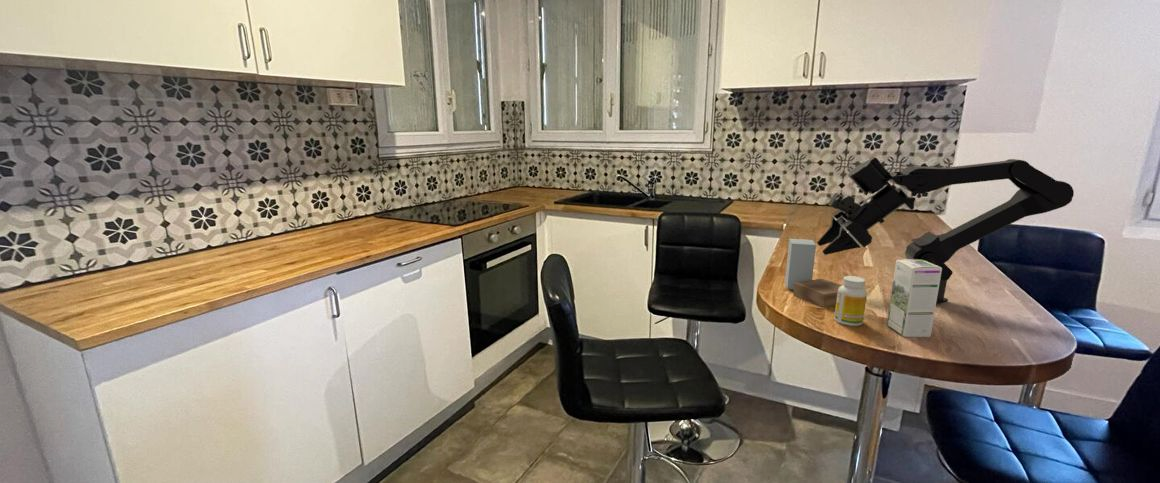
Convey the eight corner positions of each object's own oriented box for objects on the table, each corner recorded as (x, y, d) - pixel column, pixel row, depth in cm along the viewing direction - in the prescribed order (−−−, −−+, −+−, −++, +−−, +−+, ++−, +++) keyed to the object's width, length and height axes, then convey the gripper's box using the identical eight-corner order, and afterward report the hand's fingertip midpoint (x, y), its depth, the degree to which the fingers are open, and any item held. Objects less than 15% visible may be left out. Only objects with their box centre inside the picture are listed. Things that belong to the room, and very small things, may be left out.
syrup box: (932, 337, 96) (944, 266, 93) (901, 337, 96) (913, 266, 93) (913, 325, 102) (924, 258, 98) (884, 325, 102) (895, 258, 98)
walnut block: (851, 303, 115) (853, 289, 115) (822, 308, 112) (824, 294, 111) (820, 291, 124) (822, 278, 123) (793, 296, 120) (794, 282, 120)
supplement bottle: (828, 318, 106) (833, 276, 103) (847, 315, 107) (852, 273, 105) (849, 328, 101) (855, 283, 98) (868, 324, 102) (875, 281, 100)
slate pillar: (807, 284, 128) (812, 239, 125) (810, 291, 123) (816, 244, 120) (784, 282, 129) (789, 238, 127) (787, 289, 124) (792, 243, 121)
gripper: (846, 178, 125) (794, 218, 131) (863, 187, 108) (802, 232, 114) (876, 210, 124) (823, 248, 130) (898, 224, 107) (836, 268, 113)
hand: (820, 248), depth 122 cm, fingers open, 9 cm apart
